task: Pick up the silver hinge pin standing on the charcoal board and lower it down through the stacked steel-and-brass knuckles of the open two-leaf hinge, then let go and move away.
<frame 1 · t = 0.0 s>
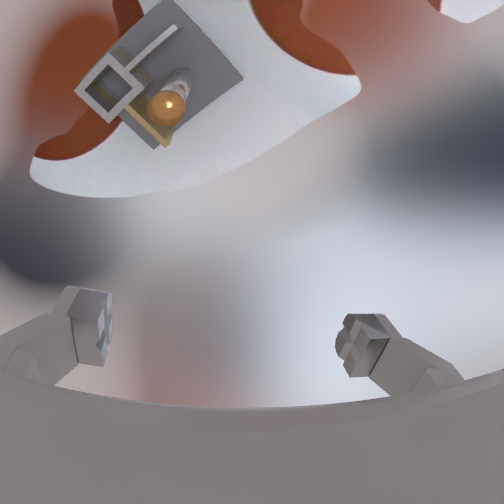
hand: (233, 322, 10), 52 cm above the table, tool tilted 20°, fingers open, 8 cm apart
hinge pin: (183, 78, 48), point 1 cm above the table, touching base board
base board: (158, 74, 48), on the table
hinge: (123, 76, 47), resting on base board
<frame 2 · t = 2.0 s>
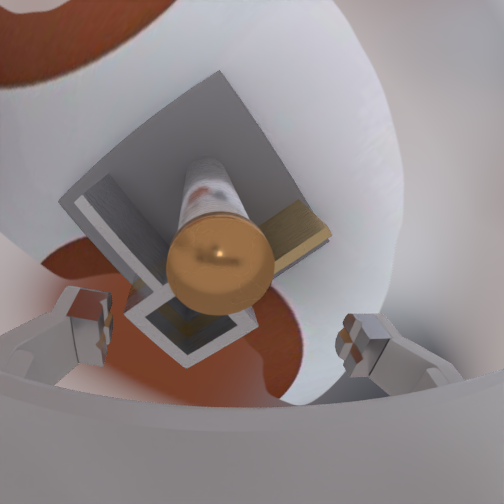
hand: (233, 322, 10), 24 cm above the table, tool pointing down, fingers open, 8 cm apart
hinge pin: (206, 176, 30), point 1 cm above the table, touching base board
base board: (195, 216, 33), on the table
hinge: (191, 272, 36), resting on base board
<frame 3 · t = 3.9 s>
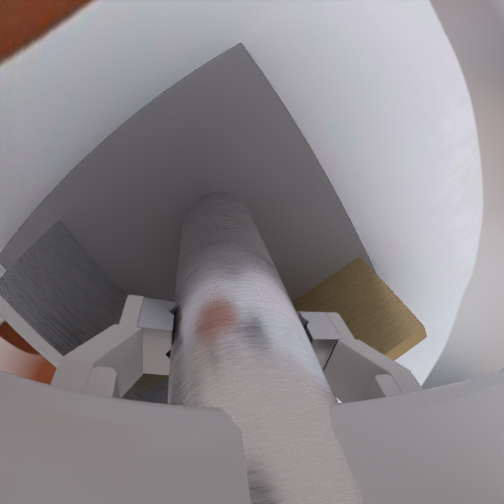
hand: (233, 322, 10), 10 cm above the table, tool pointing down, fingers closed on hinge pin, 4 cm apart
hinge pin: (217, 225, 18), point 1 cm above the table, touching base board, gripper
base board: (200, 282, 21), on the table
hinge: (195, 354, 24), resting on base board
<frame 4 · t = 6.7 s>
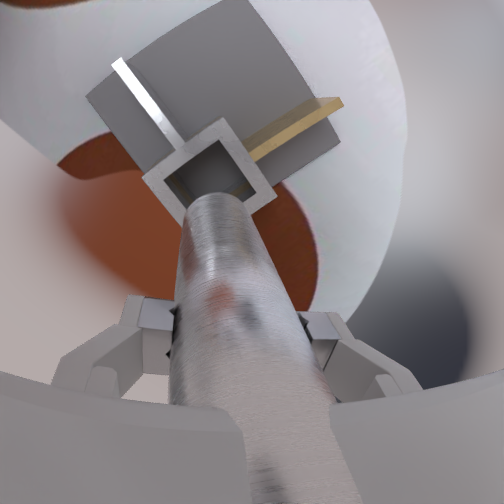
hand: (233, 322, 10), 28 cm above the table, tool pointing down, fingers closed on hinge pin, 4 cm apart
hinge pin: (217, 225, 18), point 19 cm above the table, touching gripper
base board: (215, 111, 33), on the table
hinge: (207, 168, 36), resting on base board
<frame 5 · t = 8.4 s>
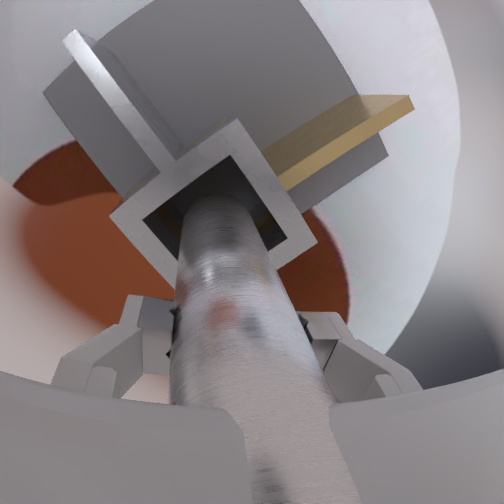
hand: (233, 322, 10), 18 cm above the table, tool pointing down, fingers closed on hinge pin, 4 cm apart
hinge pin: (217, 225, 18), point 9 cm above the table, touching gripper
base board: (220, 109, 23), on the table
hinge: (210, 189, 26), resting on base board
when the fingers open (12 cm above the table, at t = 9.9 s): hinge pin drops 2 cm, resting on base board.
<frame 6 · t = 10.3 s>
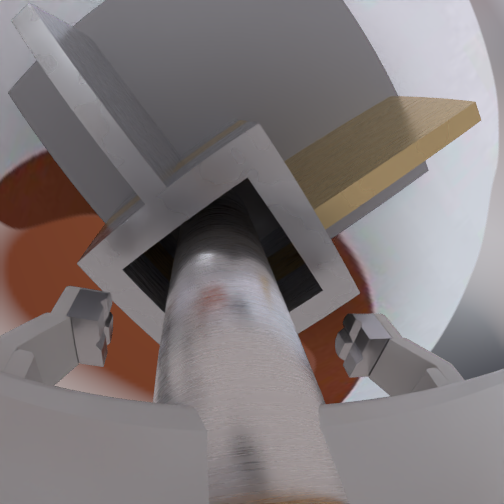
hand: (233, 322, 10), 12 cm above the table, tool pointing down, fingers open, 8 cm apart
hinge pin: (215, 216, 20), point 1 cm above the table, touching base board
base board: (228, 110, 18), on the table
hinge: (215, 211, 21), resting on base board
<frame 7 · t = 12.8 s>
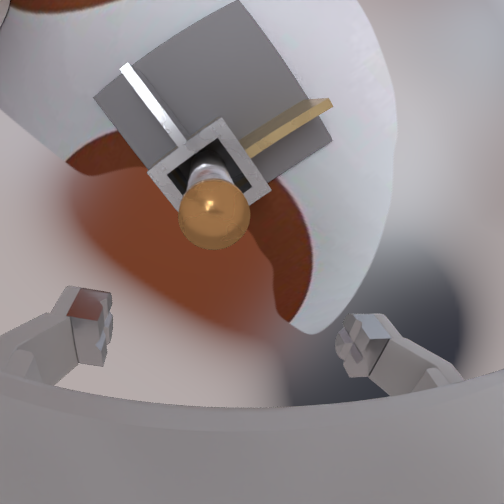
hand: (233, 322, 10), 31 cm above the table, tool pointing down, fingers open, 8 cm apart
hinge pin: (207, 166, 37), point 1 cm above the table, touching base board
base board: (214, 112, 35), on the table
hinge: (207, 165, 38), resting on base board
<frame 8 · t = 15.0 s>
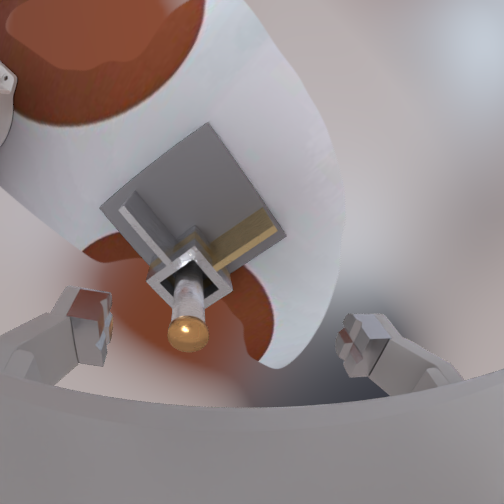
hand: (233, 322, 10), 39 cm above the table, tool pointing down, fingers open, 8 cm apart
hinge pin: (189, 260, 51), point 1 cm above the table, touching base board
base board: (193, 218, 49), on the table
hinge: (190, 257, 52), resting on base board
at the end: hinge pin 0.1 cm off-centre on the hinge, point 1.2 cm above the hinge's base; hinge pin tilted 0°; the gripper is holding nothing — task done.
